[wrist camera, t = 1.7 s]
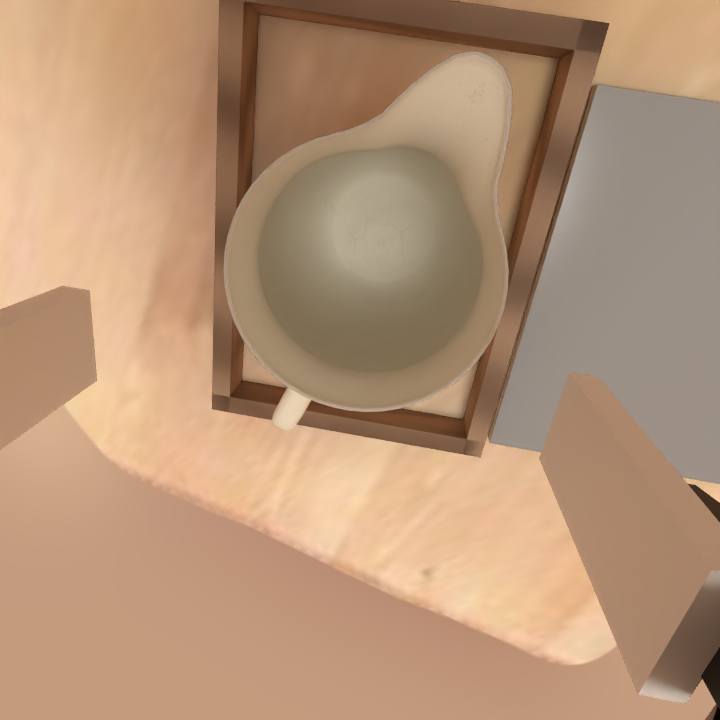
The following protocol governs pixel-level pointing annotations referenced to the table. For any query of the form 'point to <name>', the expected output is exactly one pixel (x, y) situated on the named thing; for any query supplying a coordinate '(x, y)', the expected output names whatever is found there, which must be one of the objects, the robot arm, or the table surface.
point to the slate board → (630, 280)
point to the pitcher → (379, 248)
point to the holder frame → (565, 108)
